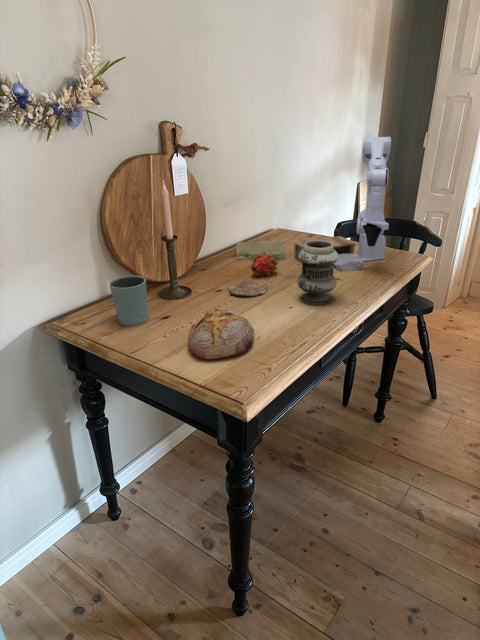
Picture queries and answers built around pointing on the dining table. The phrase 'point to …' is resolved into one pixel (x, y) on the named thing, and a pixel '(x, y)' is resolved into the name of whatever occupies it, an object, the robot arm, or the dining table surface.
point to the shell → (248, 289)
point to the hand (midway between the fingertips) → (371, 245)
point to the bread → (220, 335)
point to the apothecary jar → (317, 271)
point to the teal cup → (130, 299)
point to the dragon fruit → (264, 264)
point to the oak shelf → (338, 242)
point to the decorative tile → (259, 250)
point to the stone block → (349, 263)
